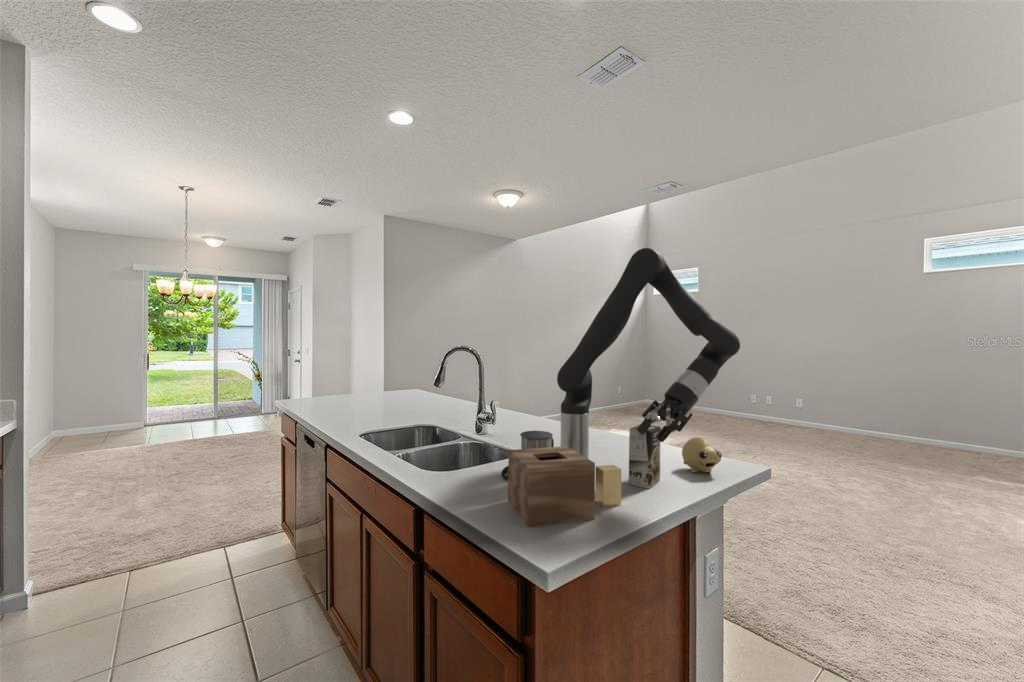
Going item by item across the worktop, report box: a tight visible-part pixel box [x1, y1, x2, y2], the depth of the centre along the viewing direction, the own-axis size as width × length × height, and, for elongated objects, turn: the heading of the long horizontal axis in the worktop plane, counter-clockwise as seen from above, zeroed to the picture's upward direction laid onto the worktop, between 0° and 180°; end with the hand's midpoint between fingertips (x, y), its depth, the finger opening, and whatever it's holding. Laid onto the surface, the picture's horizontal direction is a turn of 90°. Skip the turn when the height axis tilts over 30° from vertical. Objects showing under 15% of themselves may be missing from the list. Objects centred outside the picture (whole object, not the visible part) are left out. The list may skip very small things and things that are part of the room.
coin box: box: [507, 446, 596, 528], centre depth 105 cm, size 16×16×13 cm
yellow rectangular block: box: [595, 464, 622, 508], centre depth 110 cm, size 4×5×9 cm
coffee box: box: [628, 424, 662, 489], centre depth 126 cm, size 9×6×16 cm
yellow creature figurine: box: [681, 436, 723, 473], centre depth 136 cm, size 10×12×11 cm
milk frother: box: [501, 430, 555, 481], centre depth 125 cm, size 14×16×15 cm
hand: (648, 436), depth 113 cm, fingers open, 8 cm apart
